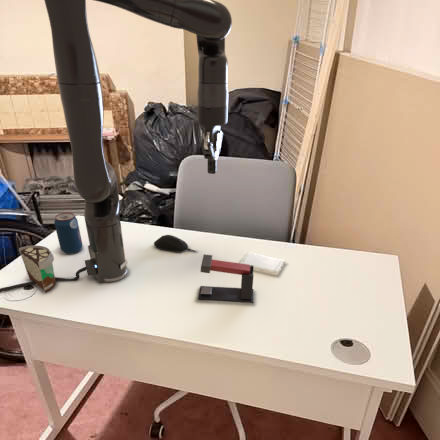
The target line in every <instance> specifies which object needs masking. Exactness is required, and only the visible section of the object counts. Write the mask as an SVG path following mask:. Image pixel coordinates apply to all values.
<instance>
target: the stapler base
mask: <svg viewBox="0 0 440 440" xmlns="http://www.w3.org/2000/svg"><path fill="white" fill-rule="evenodd" d="M253 267H254V266H253V265H250V274H242V275H241V282H240V287H228V286H227V287H226V286H210V285H209V286H208V285H207V286H206V285H200V286H199V290H198V296H197V301H209V302H223V303H225V302H226V303H227V302H229V303H243V304H244V303H246V304H254V287H253V286H254V269H253Z"/></svg>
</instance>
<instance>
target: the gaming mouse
mask: <svg viewBox="0 0 440 440" xmlns="http://www.w3.org/2000/svg"><path fill="white" fill-rule="evenodd" d="M153 245H154V247H155V248H157V249H158V250H163V251H167V252H174V253H183V252H185V251H190V252H194V253H196V250H194V249H192V248H190V247H189V246H188V243H187V242H186V241H184V240H183V239H181V238H179V237H177V236H175V235H171V234H165V235H161V236H160V237H159V238H157V239H156V240H155V241H154V242H153Z"/></svg>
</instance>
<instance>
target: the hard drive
mask: <svg viewBox="0 0 440 440" xmlns="http://www.w3.org/2000/svg"><path fill="white" fill-rule="evenodd" d="M239 263H241V264H248V265H253V266H254V267H253V271H257V272H263V273H268V274H272V275H276V276H278V275H279V273H280V272H281V270H282V269H283V267H284V265H285V263H286V260H284V259H280V258H276V257H272V256H268V255H262V254H258V253H255V252H249V251H248V252H247V253H246V254H245V255H244V257H243V258H242V259H241V260H240V261H239Z"/></svg>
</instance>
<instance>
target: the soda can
mask: <svg viewBox="0 0 440 440" xmlns="http://www.w3.org/2000/svg"><path fill="white" fill-rule="evenodd" d="M53 224H54V228H55V232H56V235H57V241H58V244H59V249H60V250H61V252H62V253H64V254H67V255H75V254H78V253H80V252H81V251H82V248H83V245H84V244H83V241H82V240H83V239H82V235H81V231H80V226H79V221H78V218H77V217H76V216H75V214H74V213H72V212H61V213H58V214H56V215H55V216H54V223H53Z"/></svg>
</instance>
